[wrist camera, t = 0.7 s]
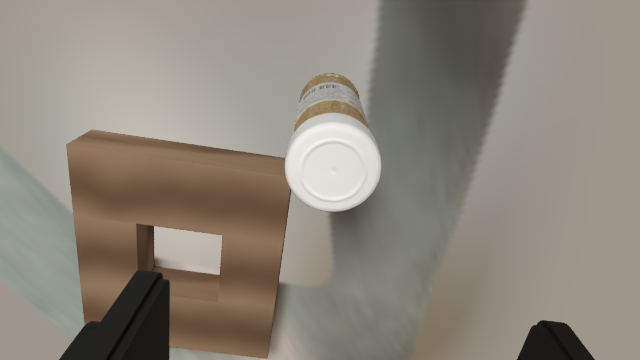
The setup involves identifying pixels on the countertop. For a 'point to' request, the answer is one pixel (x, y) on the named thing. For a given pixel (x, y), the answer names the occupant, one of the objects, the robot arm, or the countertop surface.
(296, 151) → the sprinkles bottle
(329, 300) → the countertop surface
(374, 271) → the countertop surface
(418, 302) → the countertop surface
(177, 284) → the walnut hole board
